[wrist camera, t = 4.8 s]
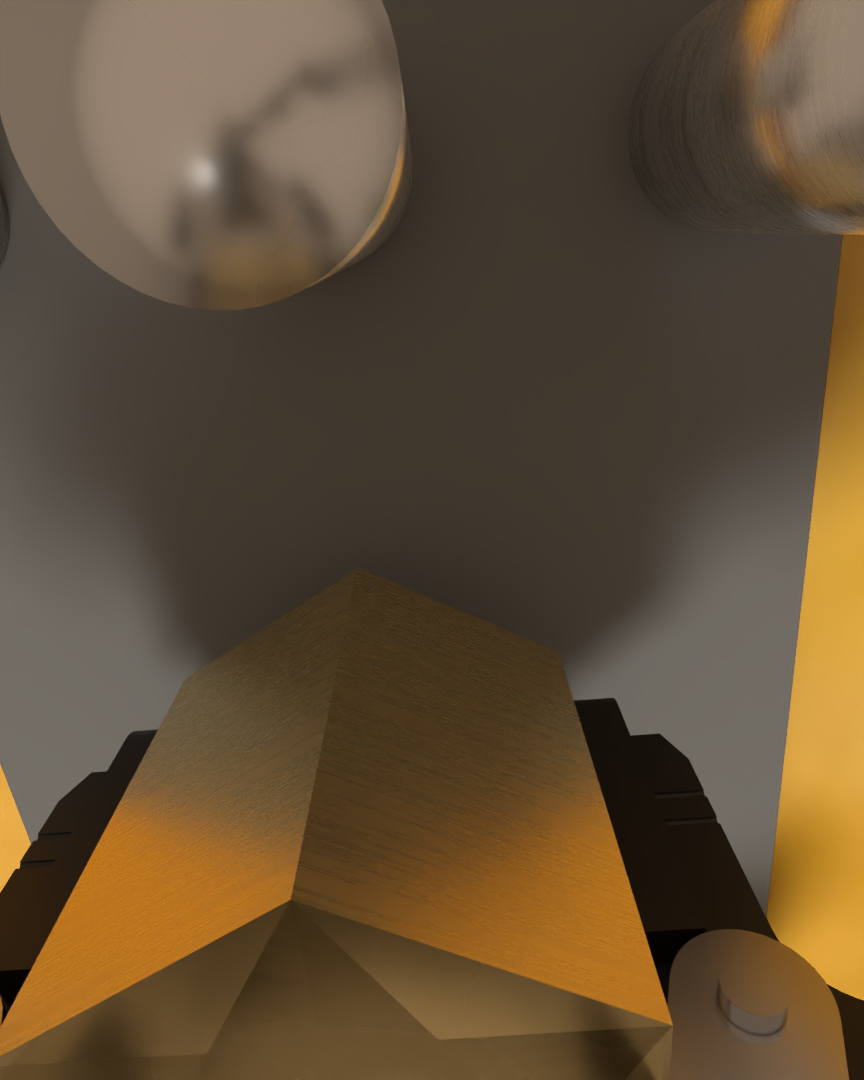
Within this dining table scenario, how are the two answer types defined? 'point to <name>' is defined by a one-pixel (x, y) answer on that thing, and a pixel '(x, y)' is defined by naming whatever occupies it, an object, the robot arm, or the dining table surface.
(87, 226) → the standing spacers
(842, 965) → the dining table surface
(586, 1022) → the yellow faceted hexagonal block
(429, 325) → the mat
